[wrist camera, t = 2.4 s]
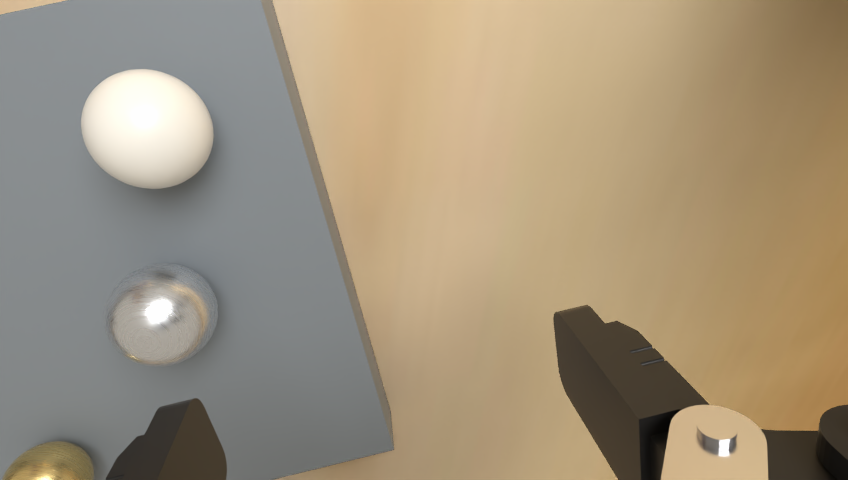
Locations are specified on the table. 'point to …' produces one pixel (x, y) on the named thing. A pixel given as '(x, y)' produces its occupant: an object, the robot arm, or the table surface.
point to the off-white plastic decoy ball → (147, 128)
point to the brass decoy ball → (52, 463)
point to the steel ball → (160, 314)
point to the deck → (175, 247)
